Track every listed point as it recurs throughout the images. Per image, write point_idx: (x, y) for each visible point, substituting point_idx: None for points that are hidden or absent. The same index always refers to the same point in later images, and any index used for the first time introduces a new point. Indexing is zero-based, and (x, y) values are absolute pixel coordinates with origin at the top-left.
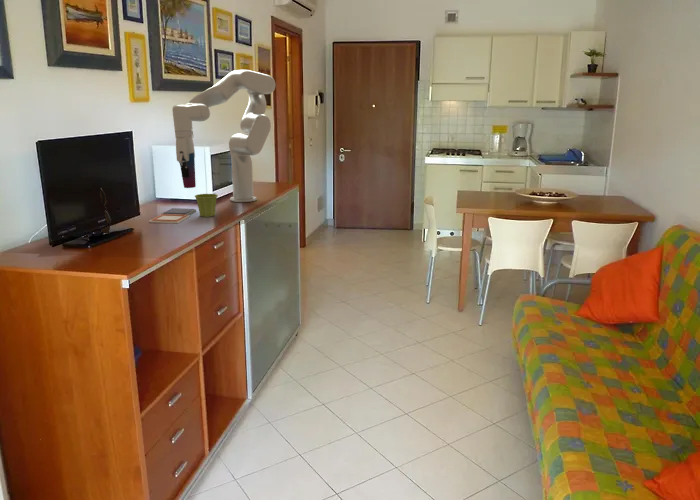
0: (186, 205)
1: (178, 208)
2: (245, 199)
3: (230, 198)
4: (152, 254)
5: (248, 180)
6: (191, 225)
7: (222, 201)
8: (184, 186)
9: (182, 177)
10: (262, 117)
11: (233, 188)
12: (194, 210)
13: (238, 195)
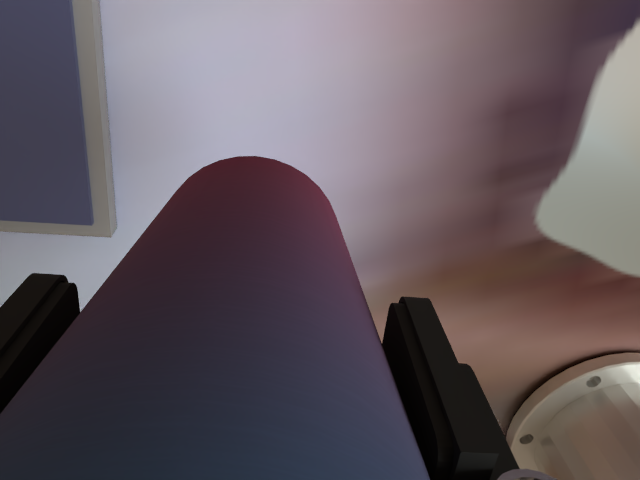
0: (409, 46)
1: (67, 66)
2: (532, 465)
3: (596, 371)
4: None
5: None
6: None
7: (575, 309)
8: (181, 187)
9: (154, 232)
10: None
11: (637, 462)
12: (68, 233)
13: (558, 453)
